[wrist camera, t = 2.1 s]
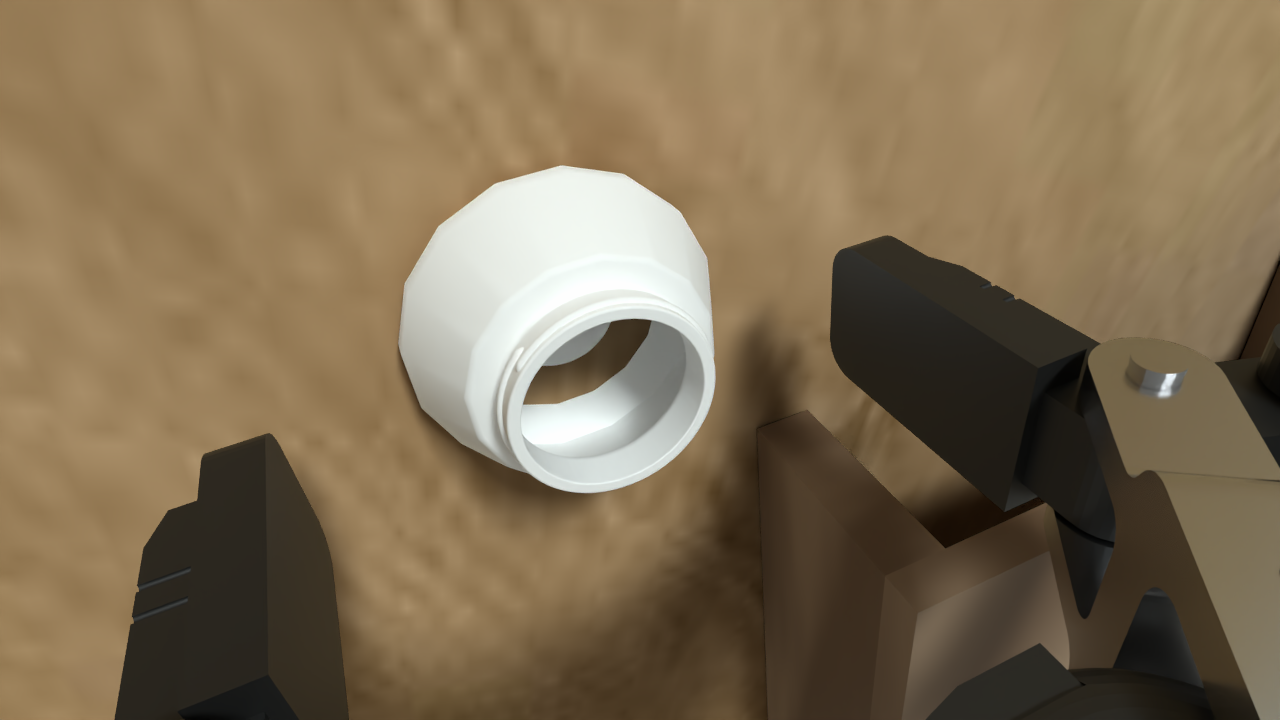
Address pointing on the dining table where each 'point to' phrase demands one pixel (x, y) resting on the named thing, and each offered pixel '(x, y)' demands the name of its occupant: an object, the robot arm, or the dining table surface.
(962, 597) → the low shelf
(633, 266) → the white jar
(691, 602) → the dining table surface
